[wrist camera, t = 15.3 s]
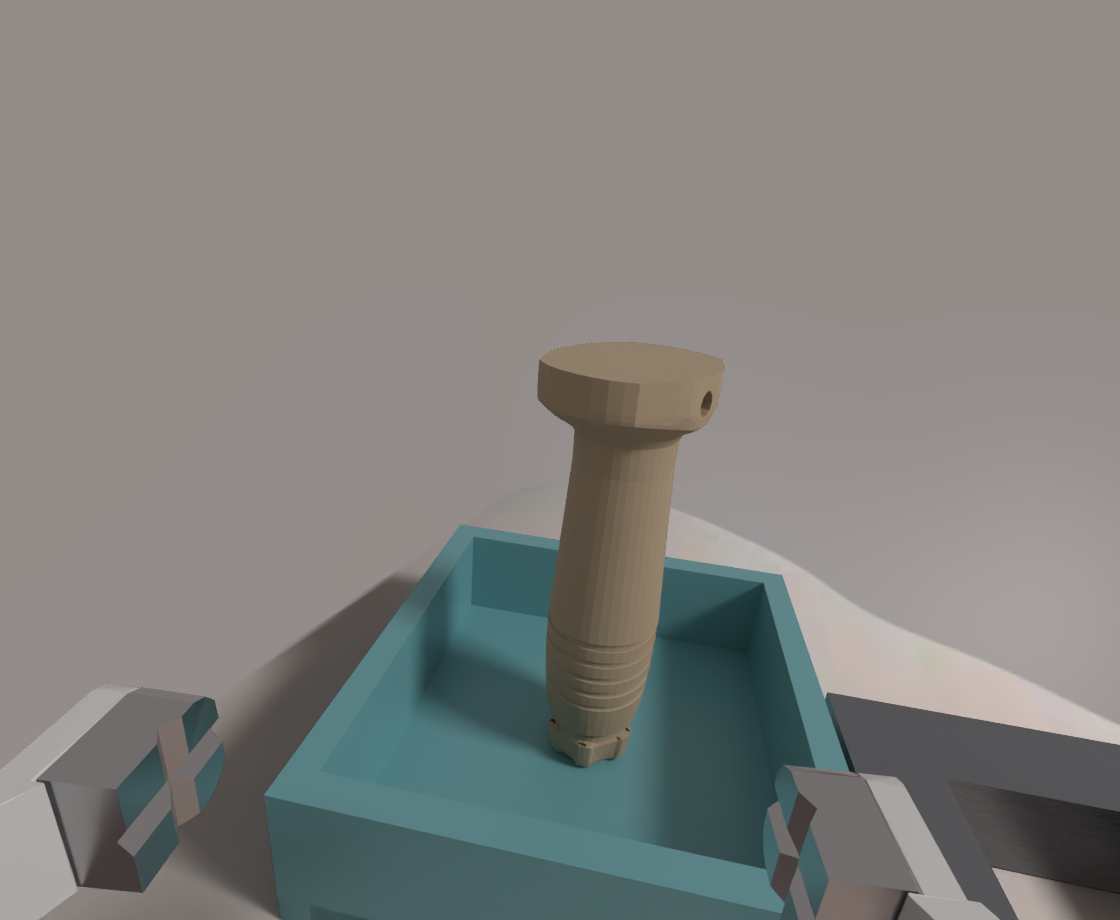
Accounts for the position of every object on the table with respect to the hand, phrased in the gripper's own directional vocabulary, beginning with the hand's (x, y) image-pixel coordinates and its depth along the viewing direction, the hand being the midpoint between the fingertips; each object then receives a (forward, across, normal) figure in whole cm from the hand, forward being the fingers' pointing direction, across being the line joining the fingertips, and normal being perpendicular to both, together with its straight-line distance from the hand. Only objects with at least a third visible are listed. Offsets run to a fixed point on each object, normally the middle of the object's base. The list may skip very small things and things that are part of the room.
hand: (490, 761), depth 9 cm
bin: (+12, -2, +12) cm, 17 cm away
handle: (+12, -2, +11) cm, 16 cm away
